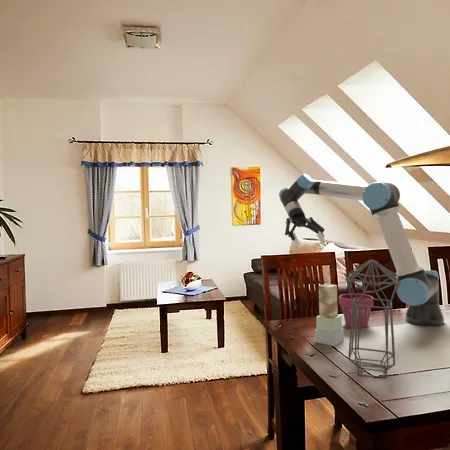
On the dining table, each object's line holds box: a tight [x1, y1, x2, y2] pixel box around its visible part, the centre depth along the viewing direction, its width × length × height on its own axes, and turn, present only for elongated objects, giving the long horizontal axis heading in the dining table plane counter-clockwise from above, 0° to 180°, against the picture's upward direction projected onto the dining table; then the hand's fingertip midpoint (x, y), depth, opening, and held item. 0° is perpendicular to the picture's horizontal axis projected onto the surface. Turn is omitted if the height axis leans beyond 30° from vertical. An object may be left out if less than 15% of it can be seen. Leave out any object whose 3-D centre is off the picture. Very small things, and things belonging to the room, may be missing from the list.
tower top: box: [315, 314, 343, 333], centre depth 146 cm, size 7×7×5 cm
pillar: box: [318, 283, 339, 319], centre depth 146 cm, size 5×5×12 cm
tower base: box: [314, 327, 345, 347], centre depth 147 cm, size 8×8×5 cm
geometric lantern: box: [345, 259, 401, 379], centre depth 117 cm, size 16×16×35 cm
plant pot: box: [338, 292, 375, 329], centre depth 166 cm, size 14×14×13 cm
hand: (311, 244), depth 175 cm, fingers open, 13 cm apart
